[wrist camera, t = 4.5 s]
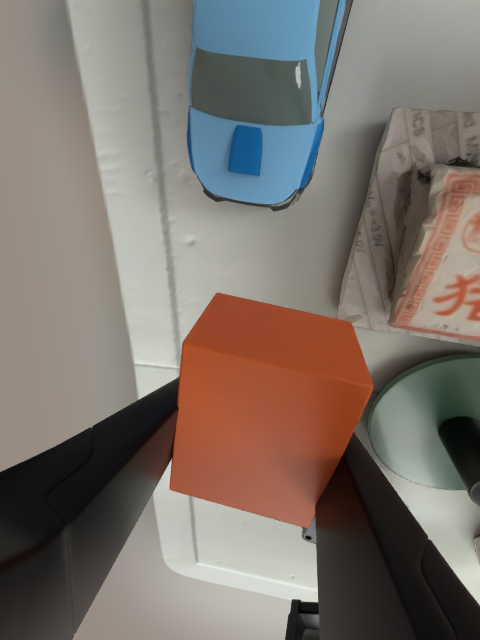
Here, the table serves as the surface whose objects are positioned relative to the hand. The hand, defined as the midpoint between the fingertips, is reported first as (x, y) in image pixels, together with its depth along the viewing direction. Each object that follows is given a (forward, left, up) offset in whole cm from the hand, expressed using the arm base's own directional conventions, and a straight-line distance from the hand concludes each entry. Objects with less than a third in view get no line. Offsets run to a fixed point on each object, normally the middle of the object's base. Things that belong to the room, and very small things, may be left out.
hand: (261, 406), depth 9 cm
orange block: (0, 0, -1) cm, 1 cm away
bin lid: (-5, -12, -9) cm, 16 cm away
